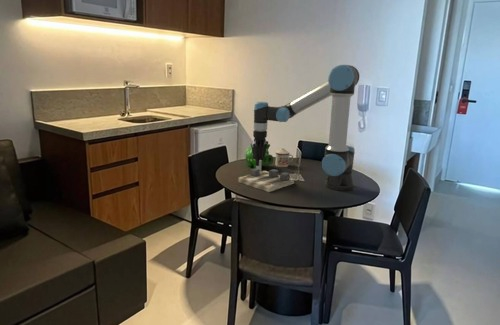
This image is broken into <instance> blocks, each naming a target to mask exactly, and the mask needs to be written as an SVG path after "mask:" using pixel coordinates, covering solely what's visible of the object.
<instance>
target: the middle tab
mask: <svg viewBox="0 0 500 325" xmlns="http://www.w3.org/2000/svg"><path fill="white" fill-rule="evenodd" d="M268 172H269V176H271V177H276V176H278V175H279V170H278V169H269V171H268Z"/></svg>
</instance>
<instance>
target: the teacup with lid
mask: <svg viewBox="0 0 500 325" xmlns="http://www.w3.org/2000/svg"><path fill="white" fill-rule="evenodd" d="M290 157H291V159H290ZM293 160H294V155H292V154H291V153H290V151H288V150H286V149H285V148H284V147H281V149H279V150H276V151H275V163H274V164H275V167H278V168H288V167H289V163H291V162H292V161H293Z"/></svg>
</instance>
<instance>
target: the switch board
mask: <svg viewBox="0 0 500 325" xmlns="http://www.w3.org/2000/svg"><path fill="white" fill-rule="evenodd" d="M237 183H240V184H243V185H245V186H249V187H253V188H255V189H259V190H261V191H265V192H267V193H270V192H274V191H277V190H279V189H282V188H284V187H285V188H286V187H288V186H291V185H293V184H295V178H291V177H290V178H289V179H288V180H281V179H280V174H278V176H276V177H271V176H269V171H267V170H261V171H260V175H258V176H252V175H250V174H247V175H244V176H239V177H238V182H237Z"/></svg>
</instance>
